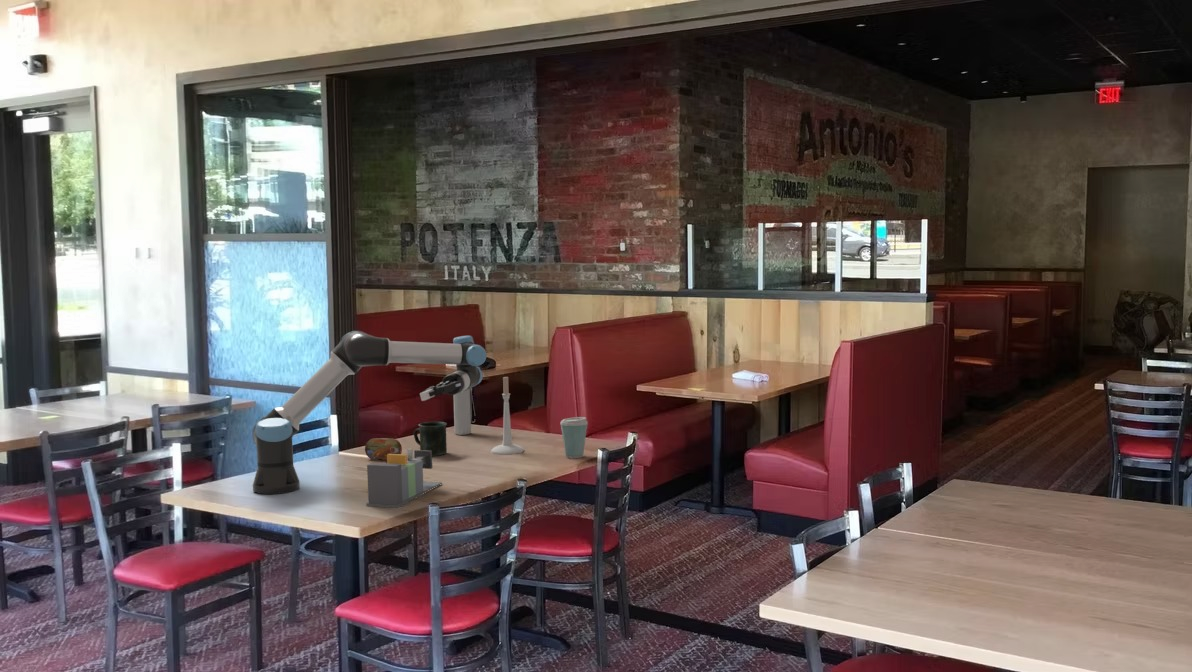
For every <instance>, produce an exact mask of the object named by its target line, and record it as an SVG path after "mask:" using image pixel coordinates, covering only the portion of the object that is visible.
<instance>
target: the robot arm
mask: <svg viewBox="0 0 1192 672" xmlns="http://www.w3.org/2000/svg"><path fill="white" fill-rule="evenodd" d="M452 342H453V343H450V342H449V343H448V342H447V343H446V342H445V343H443V342H424V341H423V342H422V341H421V342H420V341H419V342H418V341H397V340H396V341H395V340H390V339H389V338H388V337H377V336H374V335H372V334H368V333H366V332H364V331H361V330H352V331H349V332H347V333H346V334H344V335H343V336H342V337H341V339H340V340H339V342H338V344H337V345H336V346H335V347H334V348H333V349H332V350H331V351H330V357H329V359H328V360H327V361H326V362H325V363H324V364H323V365H322V366H321V367H320V368H319V369H318V370H317V371H315V373H314V374H313V375H312V376H311V377H310V378H309V379H308V380H307V381H306V382H305V383H304V384H303V385H302V386H301V387H299V389H298V390H297V391H296V392H295V393H294V394H293V395H291V396H290V397H289V398H288V400H287V401H285V403H284V404H282V406H280V407H279V406H278V407H273V408H272V410H270V411H269V412H268V413H267V414H266V415H265V416H264V417H261V418H260V419H258V420H257V421H256V423H255V424H254V426H253V429H252V432H251V433H252V440H253V442H254V444H255V446H256V461H257V469H256V472H255V476H254V479H253V482H252V490H253V491H255V492H258V493H257V494H259V493H262V495H275V494H276V495H277V493H278V494H285V493H290V492H293V491H297V490H299V489H300V487H301V485H300V484H301V483H300V479H299V476H298V474H297V471H296V469H295V465H294V451H293V450H294V449H293V437H294V436H295V435H296V434H297V433H298V432H299V431H300V423H302V422H303V421H304V420H305V419H306V417H308V416H309V415H310V414H311V413H312V412H313V410H315V408H317V407H318V406H319V405H320V404H321V403H322V402H323V400H325V399H326V398H327V396H329V395H330V394H331V393H332V392H333V390H335V389H336V387H337V386H339V385H340V383H342V381H344V380H345V378H346V377H347V376H349V375H350V376H351V375H353V376H354V375H355V374H357V373H358V372H359V371H360V369H362V367H374V366H388V365H389V364H390V363H391V364H393V363H394V364H397V363H398V364H425V365H426V364H427V365H428V364H429V365H430V364H432V365H455V366H456V370H455V371H454V372H452V373H450V374H447V375H445V376H444V377H443V378H442V381H441V382H439V383H438V384H436V386H434V385H431V386H429V387H428V388H426V389H424V390H423V391H422V392H420V393H419V396H420V400H421V401H422V402H425V401H427V400H431V399H433V398H434V397H435V396H436V397H437V396H439V395H445V394H447V395H449V396H453V395H455V394H457V393H459V392H461V393H463V390H466V389H471V388H474V387H476V386H477V385H479V384H480V383H481V382H482V381H483V375H484V374H483V371H482V369H481V368H480V367H479V366H481V365H482V364H484V363H485V361H486V360H487V351H486V349H485V348H484V347H483V346H482V345H480V344H475V342H474V337H473V336H472V335H461V336H456V337H454V338H453V339H452ZM255 492H254V493H255Z"/></svg>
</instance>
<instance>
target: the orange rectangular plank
mask: <svg viewBox="0 0 1192 672" xmlns="http://www.w3.org/2000/svg"><path fill="white" fill-rule="evenodd" d="M407 461H408V459H407V453H406V454H405V453H401V454H387V461H386V463H391V464H401V465H406V464H407Z"/></svg>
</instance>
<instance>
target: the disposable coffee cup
mask: <svg viewBox="0 0 1192 672" xmlns="http://www.w3.org/2000/svg"><path fill="white" fill-rule="evenodd" d="M559 425H560V429H561V435H562V441H563V447H564V454H565V456H566V458H570V459H580V458H583V457H584V453H585V445H586V444H585V443H586V436H587V428H588V420H587V417H585V416H574V417H569V418H563V419H562V420H561V421H560V424H559Z"/></svg>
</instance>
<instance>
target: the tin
mask: <svg viewBox="0 0 1192 672" xmlns="http://www.w3.org/2000/svg"><path fill="white" fill-rule="evenodd" d="M364 451H365V454H366V456H367V457H368V458H369V459H370V460H372V459H383V460H382V461H385V460H387V454H403V453H402V452H403V448H402V443H401V442H400V441H399V440H398V439H396V438H386V437H385V438H383V437H381V438H377V437H376V438H374V437H373V438H370V439H369V440H367V442H366V443H365V446H364Z"/></svg>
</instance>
